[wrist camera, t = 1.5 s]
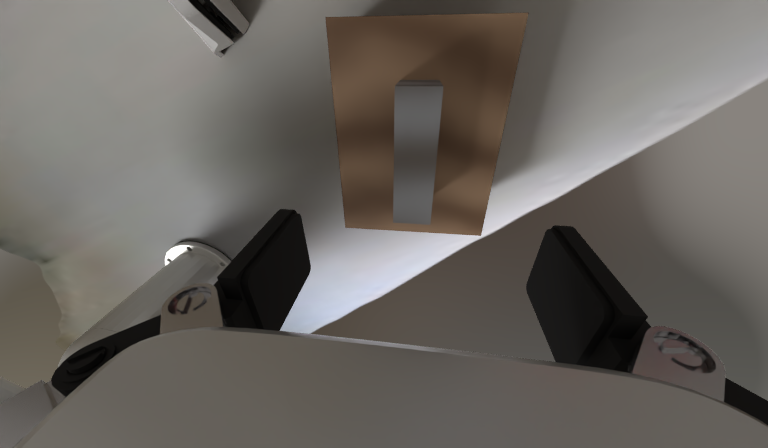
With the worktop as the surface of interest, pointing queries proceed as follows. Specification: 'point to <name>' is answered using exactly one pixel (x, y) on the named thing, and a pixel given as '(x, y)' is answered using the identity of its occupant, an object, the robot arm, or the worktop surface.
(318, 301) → the worktop surface
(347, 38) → the lid
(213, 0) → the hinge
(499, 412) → the robot arm
